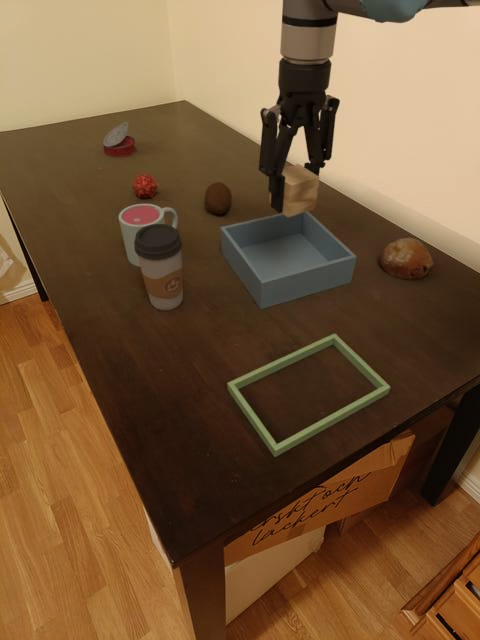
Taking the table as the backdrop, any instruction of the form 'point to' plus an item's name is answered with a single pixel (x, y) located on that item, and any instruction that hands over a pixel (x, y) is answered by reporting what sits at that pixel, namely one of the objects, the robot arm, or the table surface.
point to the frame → (322, 424)
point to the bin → (286, 257)
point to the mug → (141, 224)
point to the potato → (218, 198)
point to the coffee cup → (161, 264)
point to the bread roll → (406, 259)
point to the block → (299, 190)
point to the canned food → (119, 142)
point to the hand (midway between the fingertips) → (292, 204)
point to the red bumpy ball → (144, 186)
